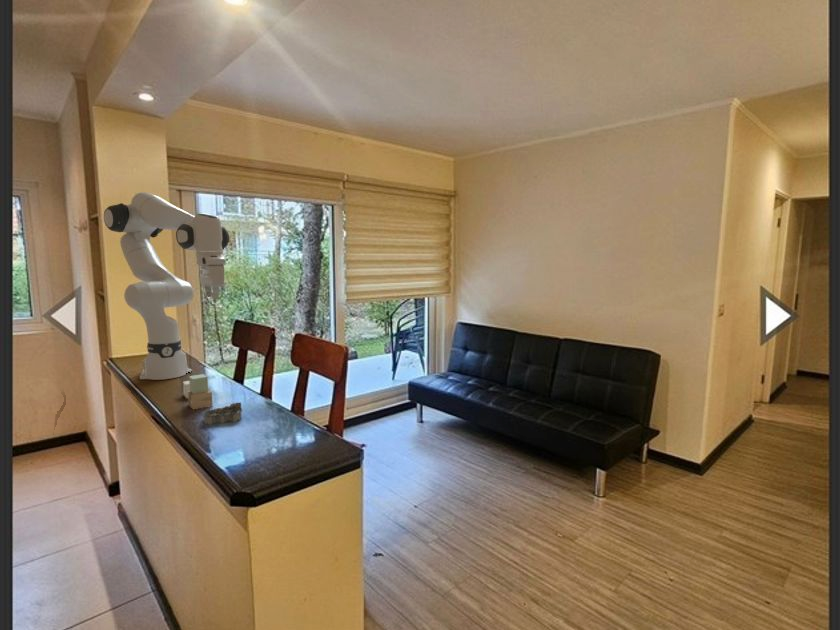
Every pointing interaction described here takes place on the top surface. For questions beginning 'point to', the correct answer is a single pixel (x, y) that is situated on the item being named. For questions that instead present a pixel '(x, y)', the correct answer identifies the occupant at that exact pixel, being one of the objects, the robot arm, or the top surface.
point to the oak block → (199, 399)
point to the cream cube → (186, 388)
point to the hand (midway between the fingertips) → (212, 298)
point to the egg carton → (223, 414)
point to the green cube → (198, 383)
